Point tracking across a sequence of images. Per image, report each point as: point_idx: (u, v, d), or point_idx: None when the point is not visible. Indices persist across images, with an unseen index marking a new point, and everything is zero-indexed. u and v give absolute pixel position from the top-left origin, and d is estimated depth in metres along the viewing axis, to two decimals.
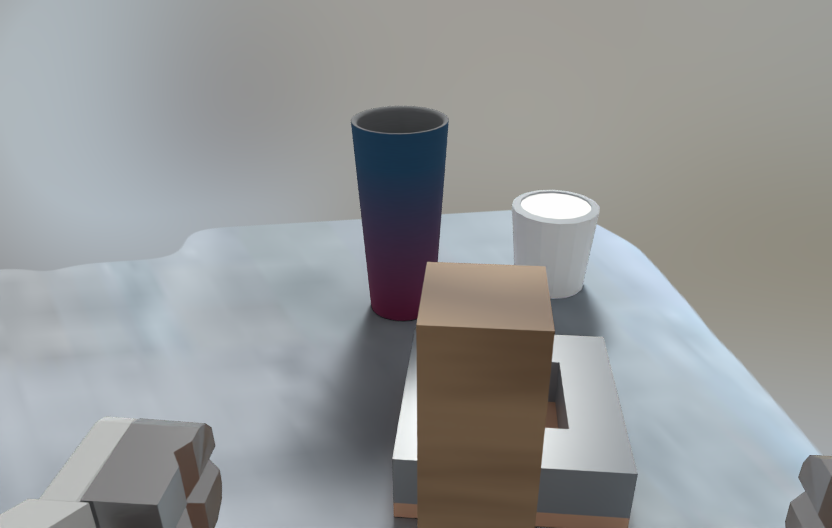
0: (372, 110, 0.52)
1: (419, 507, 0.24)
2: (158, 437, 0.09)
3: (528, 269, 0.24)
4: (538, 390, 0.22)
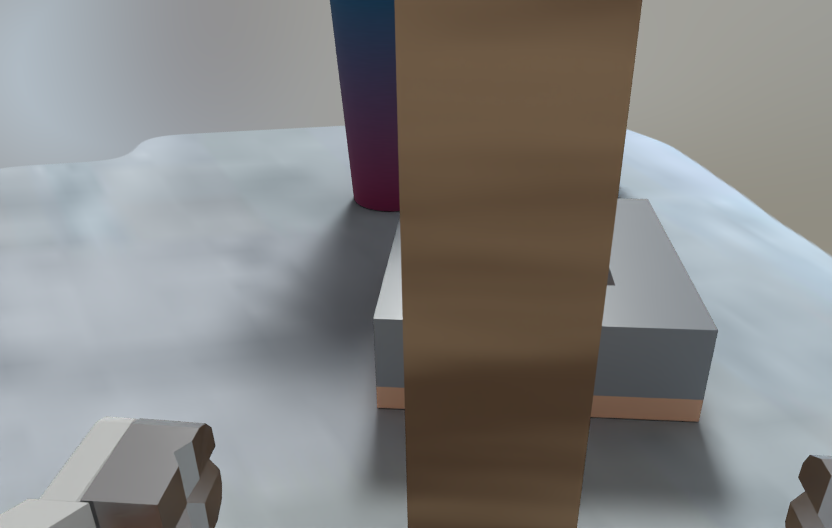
0: None
1: (405, 282, 0.14)
2: (158, 437, 0.09)
3: None
4: (622, 8, 0.12)
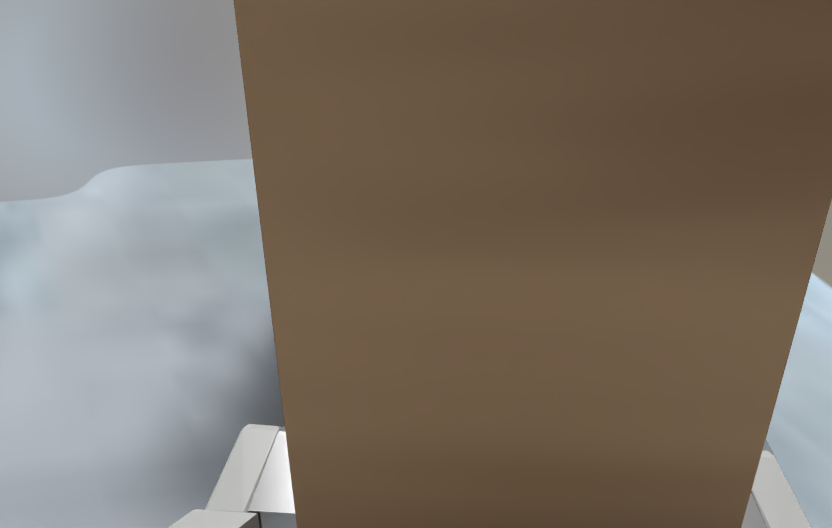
0: None
1: None
2: None
3: None
4: (787, 199, 0.05)
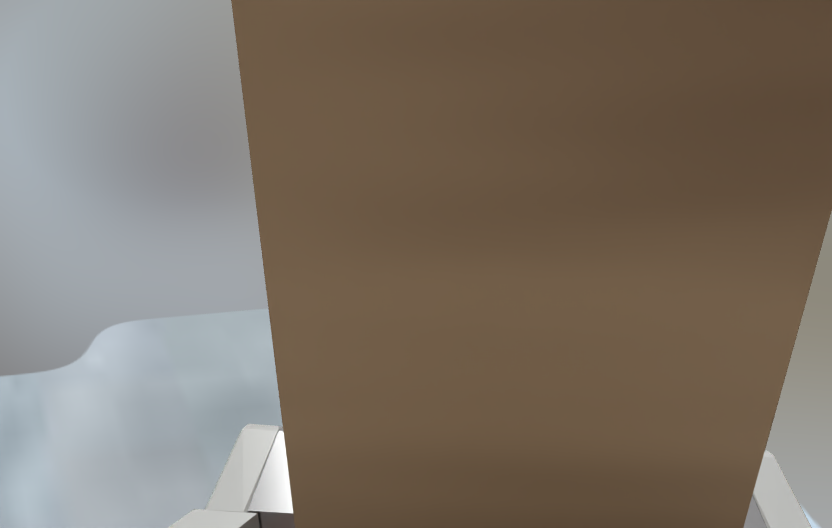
0: None
1: None
2: None
3: None
4: (787, 202, 0.05)
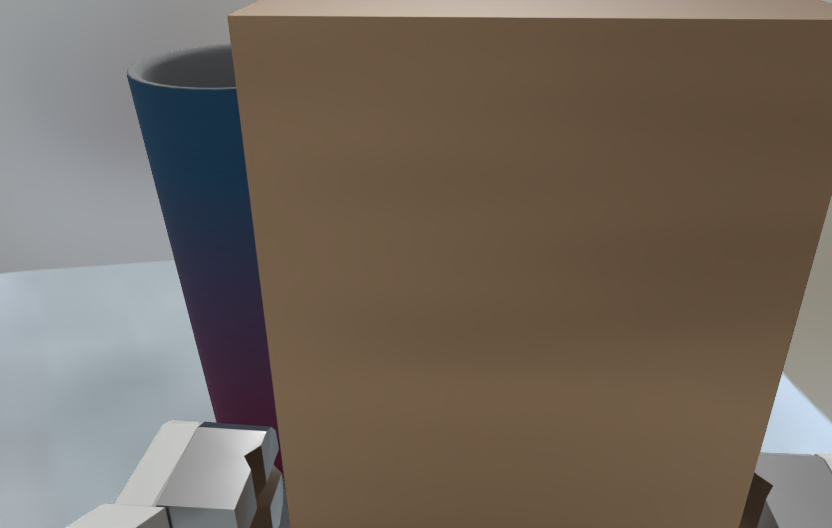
0: (197, 49, 0.25)
1: None
2: (226, 441, 0.09)
3: None
4: (753, 324, 0.05)
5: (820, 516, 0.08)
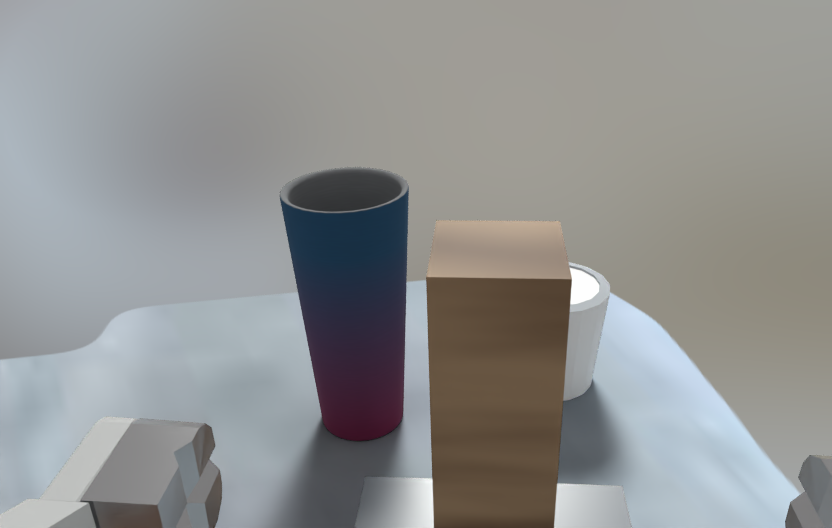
0: (312, 175, 0.40)
1: (434, 476, 0.23)
2: (158, 437, 0.09)
3: (542, 223, 0.23)
4: (556, 345, 0.21)
5: None
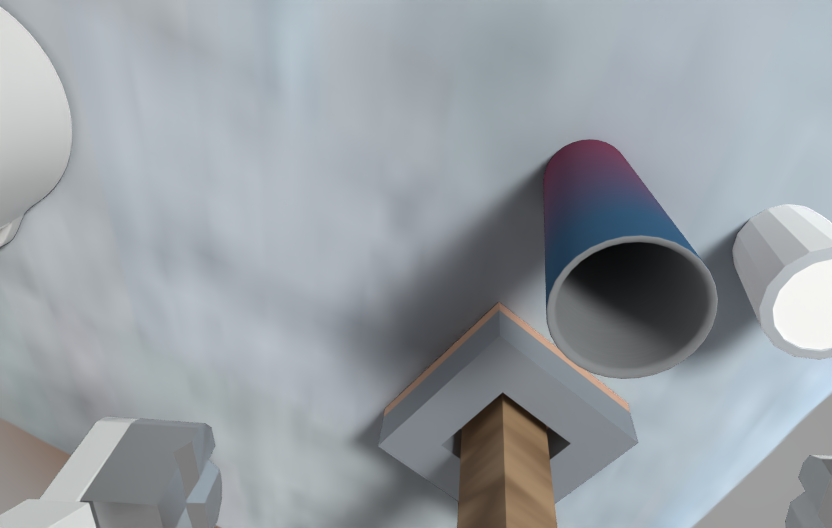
0: (633, 241, 0.28)
1: None
2: (158, 437, 0.09)
3: None
4: None
5: None
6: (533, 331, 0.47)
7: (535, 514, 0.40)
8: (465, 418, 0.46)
